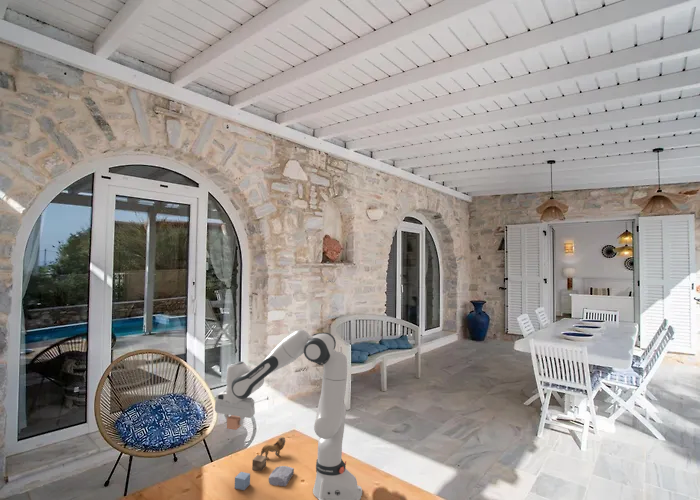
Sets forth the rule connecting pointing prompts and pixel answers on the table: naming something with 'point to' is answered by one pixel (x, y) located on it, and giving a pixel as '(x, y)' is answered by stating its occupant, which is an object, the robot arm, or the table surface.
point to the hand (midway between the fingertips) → (234, 423)
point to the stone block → (281, 475)
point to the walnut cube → (259, 463)
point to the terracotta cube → (233, 422)
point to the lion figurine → (274, 447)
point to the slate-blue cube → (242, 481)
